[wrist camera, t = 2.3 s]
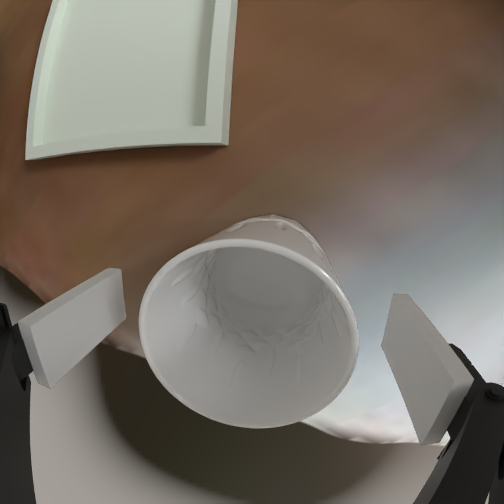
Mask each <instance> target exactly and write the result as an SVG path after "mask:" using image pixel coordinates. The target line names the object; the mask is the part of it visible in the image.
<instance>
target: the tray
mask: <svg viewBox="0 0 504 504" xmlns="http://www.w3.org/2000/svg"><path fill="white" fill-rule="evenodd" d="M237 6H238V0H53V2H52V5H51V8H50V11H49V15H48V18H47V21H46V25H45V28H44V32H43V36H42V39H41V43H40V48H39V52H38V56H37V61H36V66H35V71H34V77H33V83H32V89H31V96H30V104H29V112H28V122H27V135H26V155H25V160H36V159H45V158H51V157H58V156H65V155H72V154H80V153H88V152H97V151H107V150H118V149H131V148H146V147H165V146H202V145H228V146H229V126H230V107H231V90H232V73H233V58H234V44H235V31H236V18H237Z"/></svg>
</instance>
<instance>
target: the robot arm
mask: <svg viewBox="0 0 504 504" xmlns="http://www.w3.org/2000/svg"><path fill="white" fill-rule="evenodd" d="M125 319H126V310H125V302H124V293H123V283H122V272H121V269H117V268H107V269H106V270H104V271H102V272H100V273H98V274H97V275H95V276H93V277H91V278H90V279H88V280H86V281H84V282H83V283H81V284H79V285H77V286H76V287H74V288H72V289H71V290H69V291H67V292H65V293H64V294H62V295H60V296H59V297H57V298H55V299H54V300H52V301H50V302H49V303H47V304H45V305H44V306H42V307H41V308H39V309H37V310H35V311H34V312H32V313H31V314H29V315H28V316H26V317H24V318H22V319H21V320H19V321H18V323H17V324H15V325H14V326H12V324H11V320H10V317H9V313H8V309H7V306H6V305H5V304H2V303H0V504H36V499H35V493H34V485H33V476H32V466H31V453H30V390H31V381H30V378H29V374H30V373H31V372H32V371H34V374H35V377H36V379H37V382H38V383H39V384H41V385H43V386H45V387H47V388H49V389H51V388H52V387H53V386H54V385H55V384H56V383H57V382H58V381H59V380H60V379H61V378H62V377H64V376H65V375H66V374H67V373H68V372H69V371H70V370H71V369H72V368H73V367H74V366H75V365H76V364H77V363H78V362H79V361H80V360H81V359H83V358H84V357H85V356H86V355H87V354H88V353H89V352H90V351H91V350H92V349H93V348H94V347H95V346H97V345H98V344H99V343H100V342H101V341H102V340H103V339H104V338H105V337H106V336H107V335H108V334H110V333H111V332H112V331H113V330H114V329H115V328H116V327H117V326H118V325H119V324H121V323H122V322H123V321H124V320H125ZM381 346H382V348H383V351H384V353H385V355H386V358H387V360H388V362H389V365H390V367H391V369H392V372H393V374H394V377H395V379H396V382H397V384H398V386H399V389H400V391H401V394H402V397H403V399H404V402H405V404H406V407H407V409H408V412H409V415H410V417H411V420H412V423H413V426H414V428H415V431H416V434H417V437H418V439H419V442H420V445H427V444H434V443H439V442H440V441H441V439H442V438H443V436H444V434H445V433H446V431H448V433H449V435H450V440H449V441H448V443H447V445H446V446H445V448H444V449H443V451H442V452H441V453H440V455H439V456H438V458H437V459H439V460H438V462H437V464H436V466H435V468H434V470H433V471H432V473H431V475H430V477H429V479H428V480H427V482H426V484H425V485H424V487H423V489H422V490H421V492H420V493H419V495H418V497H417V498H416V500H415V502H414V503H413V504H485V502H486V499H487V496H488V493H489V491H490V493H489V502H488V504H504V387H503V386H501V385H499V384H496V383H486V382H485V381H484V379H483V378H482V376H481V375H480V374H479V372H478V371H477V370H476V368H475V367H474V366H473V365H471V364H472V363H471V362H470V361H469V359H467V357H466V355H465V354H464V353H463V352H462V350H461V349H459V348H458V347H456V346H455V345H453V344H448V343H447V342H446V340H445V339H444V338H443V337H442V335H441V334H440V333H439V331H438V330H437V329H436V328H435V326H434V325H433V324H432V323H431V321H430V320H429V319H428V318H427V317H426V315H425V314H424V313H423V312H422V310H421V309H420V308H419V307H418V306H417V304H416V303H415V302H414V301H413V300H412V298H411V297H410V296H409V295H408V294H393V298H392V303H391V307H390V312H389V316H388V320H387V324H386V328H385V332H384V336H383V340H382V344H381Z"/></svg>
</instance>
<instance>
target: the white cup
mask: <svg viewBox="0 0 504 504" xmlns="http://www.w3.org/2000/svg"><path fill="white" fill-rule="evenodd" d="M139 335H140V341H141V345H142V349H143V352H144V354H145V357H146V359H147V361H148V363H149V365H150V367H151V369H152V371H153V372H154V374H155V375H156V377H157V378H158V379H159V381H160V382H161V383H162V384H163V386H164V387H165V388H166V389H167V390H168V391H169V392H170V393H171V394H172V395H173V396H174V397H176V398H177V399H178V400H179V401H180V402H182V403H183V404H184V405H186V406H188V407H189V408H190V409H192V410H194V411H195V412H197V413H199V414H201V415H203V416H205V417H208V418H210V419H212V420H215V421H218V422H221V423H225V424H229V425H233V426H238V427H247V428H271V427H279V426H284V425H288V424H292V423H295V422H298V421H301V420H303V419H306V418H308V417H310V416H312V415H314V414H315V413H317V412H319V411H320V410H322V409H323V408H325V407H326V406H327V405H328V404H330V403H331V402H332V401H333V400H334V399H335V398H336V397H337V396H338V395H339V394H340V392H341V391H342V390H343V388H344V387H345V386H346V384H347V382H348V381H349V379H350V377H351V375H352V373H353V370H354V367H355V364H356V361H357V356H358V349H359V335H358V327H357V323H356V319H355V316H354V313H353V310H352V308H351V305H350V303H349V301H348V299H347V297H346V295H345V293H344V291H343V289H342V287H341V285H340V282H339V280H338V278H337V276H336V274H335V272H334V270H333V268H332V266H331V263H330V262H329V260H328V258H327V257H326V255H325V253H324V251H323V250H322V248H321V247H320V245H319V244H318V243H317V241H316V239H315V237H314V236H313V235H312V234H310V233H309V232H308V231H307V230H306V229H305V228H304V227H303V226H302V225H300V224H299V223H298V222H297V221H295V220H291V219H288V218H285V217H281V216H278V215H274V214H270V215H264V216H259V217H253V218H248V219H246V220H244V221H241V222H238V223H236V224H234V225H232V226H230V227H227V228H225V229H223V230H221V231H219V232H217V233H216V234H214V235H212V236H210V237H209V238H207V239H205V240H203V241H201V242H200V243H198V244H196V245H194V246H192V247H191V248H189V249H187V250H185V251H183V252H181V253H180V254H178V255H176V256H175V257H174V258H172V259H171V260H170V261H168V262H167V263H166V264H165V265H164V266H163V267H162V268H161V269H160V270H159V271H158V272H157V273H156V274H155V276H154V277H153V279H152V280H151V282H150V283H149V285H148V287H147V289H146V291H145V293H144V296H143V299H142V302H141V306H140V311H139Z"/></svg>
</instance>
